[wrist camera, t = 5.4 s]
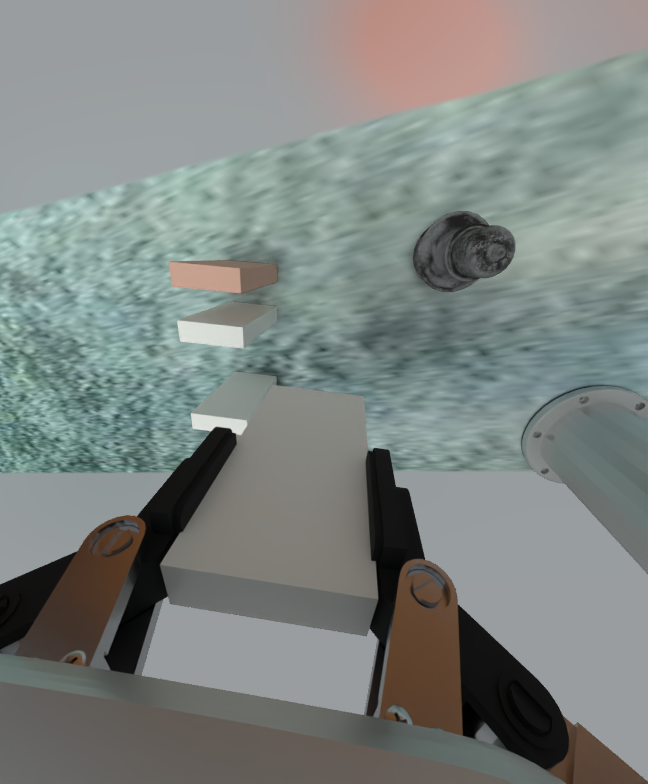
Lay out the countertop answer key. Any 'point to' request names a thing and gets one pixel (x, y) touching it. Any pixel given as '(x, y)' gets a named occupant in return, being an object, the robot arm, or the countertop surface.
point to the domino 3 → (285, 520)
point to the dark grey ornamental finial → (462, 251)
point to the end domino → (222, 275)
